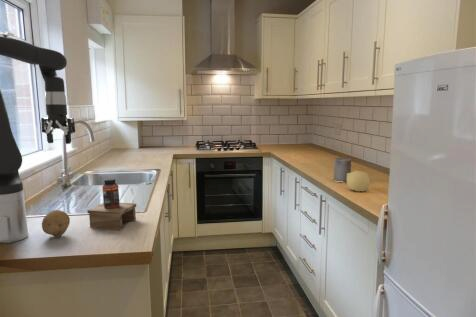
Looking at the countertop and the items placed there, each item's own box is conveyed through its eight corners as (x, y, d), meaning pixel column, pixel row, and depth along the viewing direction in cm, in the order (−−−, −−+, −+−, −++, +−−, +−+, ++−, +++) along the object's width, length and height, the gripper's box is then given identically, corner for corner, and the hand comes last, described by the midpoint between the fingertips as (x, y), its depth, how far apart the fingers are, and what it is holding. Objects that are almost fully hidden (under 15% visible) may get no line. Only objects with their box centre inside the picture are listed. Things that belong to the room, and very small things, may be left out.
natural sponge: (64, 241, 122) (62, 214, 120) (38, 242, 121) (35, 215, 120) (74, 232, 131) (72, 206, 129) (50, 233, 130) (47, 207, 129)
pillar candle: (346, 179, 216) (346, 155, 214) (353, 182, 207) (354, 157, 204) (331, 180, 215) (331, 155, 212) (337, 183, 205) (338, 158, 203)
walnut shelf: (121, 230, 132) (119, 212, 131) (88, 227, 136) (87, 210, 134) (137, 220, 144) (136, 203, 143) (106, 217, 147) (105, 201, 146)
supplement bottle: (121, 204, 142) (119, 177, 140) (117, 209, 136) (115, 180, 134) (106, 204, 141) (104, 177, 140) (101, 209, 135) (99, 180, 134)
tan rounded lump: (364, 187, 195) (365, 168, 193) (372, 193, 183) (373, 173, 181) (343, 187, 195) (344, 168, 193) (350, 193, 183) (351, 173, 181)
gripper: (34, 103, 139) (37, 144, 141) (64, 103, 135) (67, 144, 138) (48, 103, 146) (51, 142, 149) (77, 103, 143) (80, 142, 145)
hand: (59, 143), depth 143 cm, fingers open, 8 cm apart
